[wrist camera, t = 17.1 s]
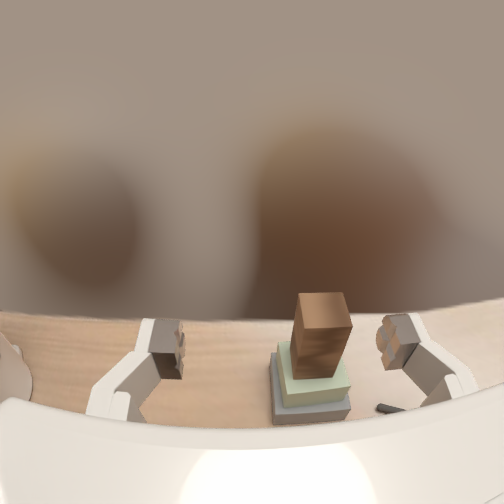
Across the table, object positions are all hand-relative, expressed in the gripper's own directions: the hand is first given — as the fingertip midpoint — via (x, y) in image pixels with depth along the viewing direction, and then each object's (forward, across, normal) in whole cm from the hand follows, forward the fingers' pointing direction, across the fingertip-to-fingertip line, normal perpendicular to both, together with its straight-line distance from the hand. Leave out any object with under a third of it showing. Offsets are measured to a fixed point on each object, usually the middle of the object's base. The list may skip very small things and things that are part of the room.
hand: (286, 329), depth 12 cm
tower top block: (+14, -8, +28) cm, 33 cm away
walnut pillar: (+14, -7, +24) cm, 29 cm away
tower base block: (+14, -8, +32) cm, 36 cm away
